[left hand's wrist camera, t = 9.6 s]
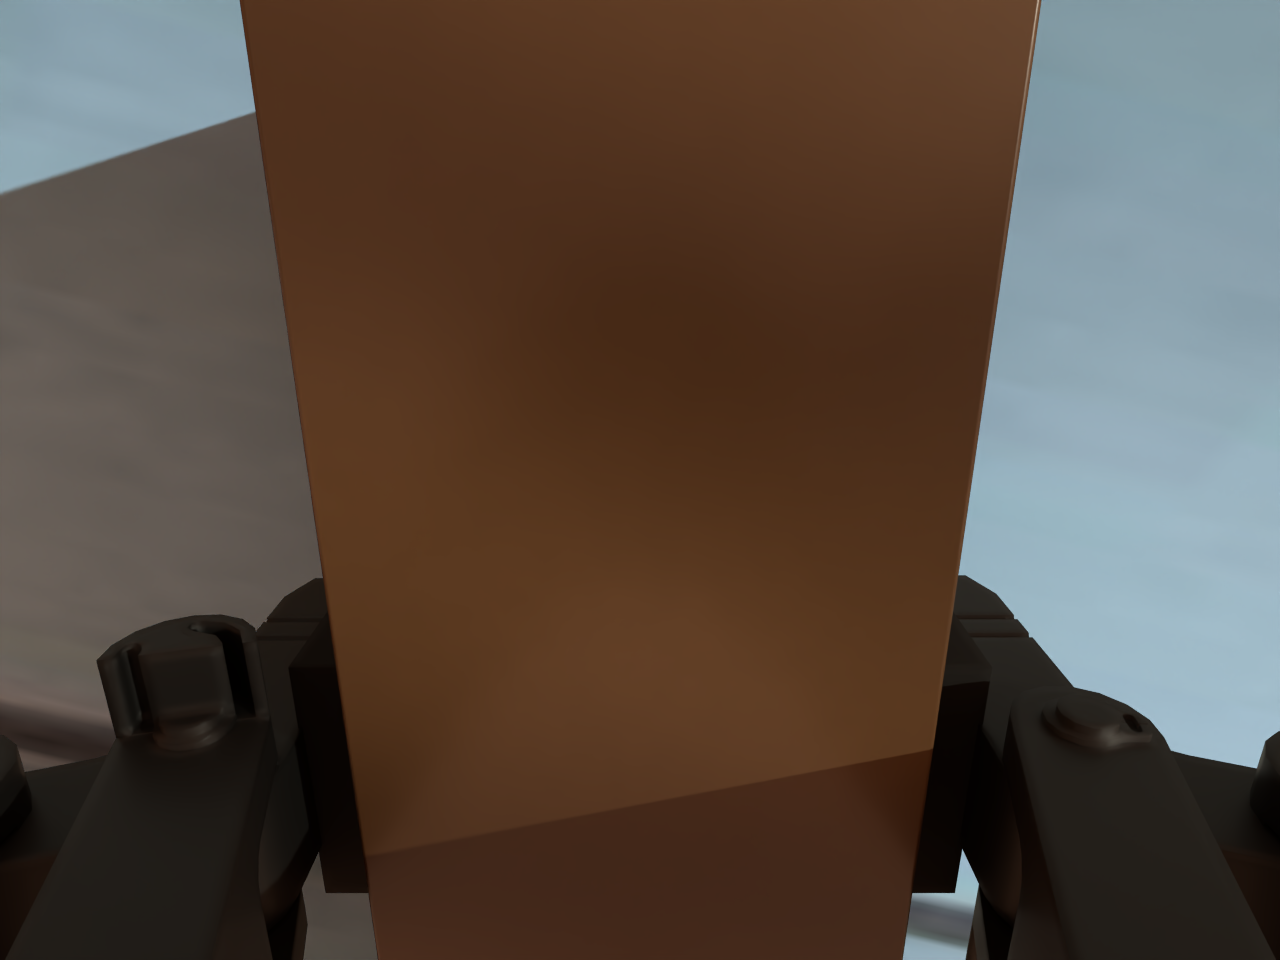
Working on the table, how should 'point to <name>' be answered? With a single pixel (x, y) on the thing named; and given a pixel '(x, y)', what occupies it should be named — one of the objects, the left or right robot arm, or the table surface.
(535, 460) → the post
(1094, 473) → the table surface
